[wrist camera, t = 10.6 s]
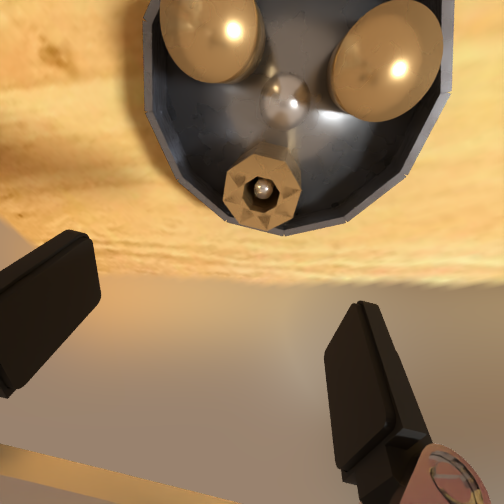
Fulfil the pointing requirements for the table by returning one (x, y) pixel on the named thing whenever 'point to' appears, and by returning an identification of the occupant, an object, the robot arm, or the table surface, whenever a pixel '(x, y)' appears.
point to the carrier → (297, 94)
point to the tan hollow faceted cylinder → (242, 185)
